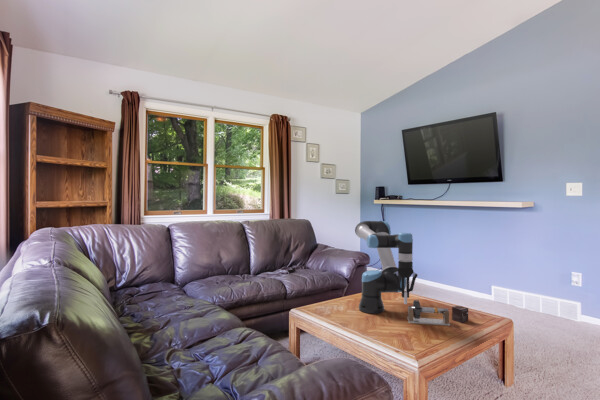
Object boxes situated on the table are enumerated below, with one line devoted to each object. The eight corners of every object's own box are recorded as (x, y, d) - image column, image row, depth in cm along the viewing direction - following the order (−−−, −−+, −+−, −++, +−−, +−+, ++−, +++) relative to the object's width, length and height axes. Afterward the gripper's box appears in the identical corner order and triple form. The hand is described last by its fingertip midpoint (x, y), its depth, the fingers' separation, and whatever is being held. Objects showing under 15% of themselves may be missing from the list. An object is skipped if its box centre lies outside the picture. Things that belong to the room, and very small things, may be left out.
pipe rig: (409, 322, 180) (409, 308, 180) (407, 318, 187) (407, 304, 187) (450, 325, 176) (450, 310, 177) (446, 321, 183) (446, 306, 183)
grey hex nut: (415, 320, 179) (415, 303, 179) (413, 314, 188) (413, 298, 188) (420, 320, 178) (420, 303, 178) (417, 315, 187) (417, 298, 187)
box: (461, 323, 180) (461, 309, 180) (451, 319, 186) (451, 306, 186) (468, 321, 183) (468, 308, 183) (458, 318, 188) (459, 305, 189)
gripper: (393, 261, 182) (393, 304, 182) (418, 262, 179) (418, 306, 179) (392, 259, 189) (392, 300, 189) (416, 260, 187) (416, 302, 186)
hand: (405, 303), depth 184 cm, fingers closed
